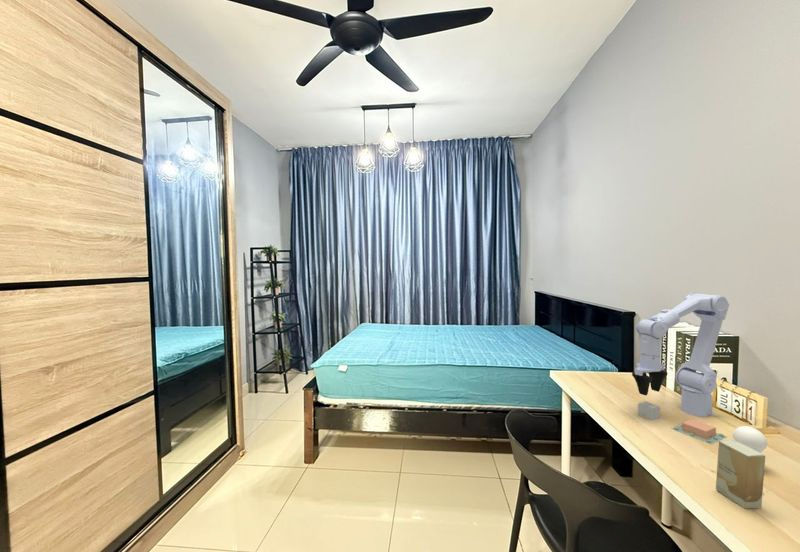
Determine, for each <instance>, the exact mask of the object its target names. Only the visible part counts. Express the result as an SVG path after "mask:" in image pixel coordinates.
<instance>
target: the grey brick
mask: <svg viewBox="0 0 800 552" xmlns="http://www.w3.org/2000/svg"><path fill="white" fill-rule="evenodd" d="M660 409H661V408H660V405H657V404H654V403H652V402H649V401H642V402H639V403H637V416H640V417H643V418H646V419H648V420H650V421H654V420H657V419H660Z"/></svg>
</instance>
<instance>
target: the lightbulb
mask: <svg viewBox="0 0 800 552" xmlns="http://www.w3.org/2000/svg"><path fill="white" fill-rule="evenodd" d="M732 437H733V440H735V441H737V442H739V443H741V444H743V445H745V446H748V447H750V448H752V449H753V450H755V451H757V452H759V453H761V454H762V453H763V451H765V450H766V449H767V447H768V440H767V438H766V437H765V435H764V434H763V433H762V432H761V431H760V430H759V429H756V428H755V427H751V426H748V425H747V426H746V425H741V426H737V427H736V428H735V429H734V430H733V432H732Z"/></svg>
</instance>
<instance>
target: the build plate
mask: <svg viewBox="0 0 800 552" xmlns="http://www.w3.org/2000/svg"><path fill="white" fill-rule="evenodd" d="M671 430H673V431H676V432H678V433H681V434H683V435H686V436H689V437H691V438H694V439H695V440H699V441H701V442H703V443H704V442H705V443H707V444H710V445H714V444H715V443H719V441H723V440H725V439H727V438H728V436H725V434H723V433H718V432H716V435H715V436H713V437H711V438H708V439H704V438H701V437H698V436H696V435H694V434H693V433H688V432H685V431H683V430H682V424H679V425H677V426H674V427H672V428H671Z"/></svg>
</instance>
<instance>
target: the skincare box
mask: <svg viewBox="0 0 800 552" xmlns="http://www.w3.org/2000/svg"><path fill="white" fill-rule="evenodd" d="M717 451H718V452H717V465H716V466H717V467H716V480H715V481H716V483H715V489H716V491H718V492H720V494H722V495H724V496H725V497H727V498H728V499H730V500H731V501H732V502H734V503H735V504H737V505H738V506H740V507H741V508H743V509H747V510H748V509H761V508H762V503H763V490H764V480H765V479H764V478H765V466H766V465H765V464H766V455H764V453H762V452H761V453H759V452H757V451H755V450H753V449H752V448H750V447H748V446H745V445H743V444H741V443H739V442H737V441H735V440H734V439H732V440H731V439H727V440H725V439H722V440H720V441H718V450H717Z"/></svg>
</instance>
